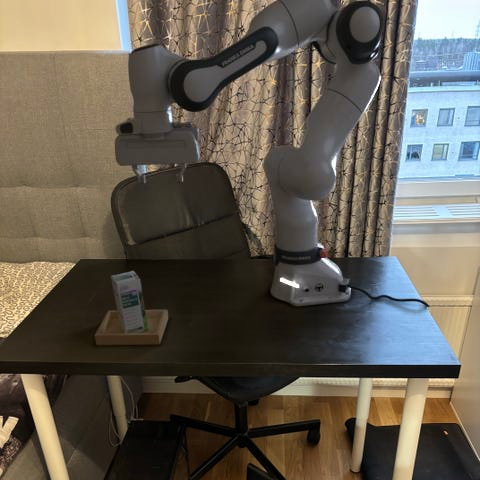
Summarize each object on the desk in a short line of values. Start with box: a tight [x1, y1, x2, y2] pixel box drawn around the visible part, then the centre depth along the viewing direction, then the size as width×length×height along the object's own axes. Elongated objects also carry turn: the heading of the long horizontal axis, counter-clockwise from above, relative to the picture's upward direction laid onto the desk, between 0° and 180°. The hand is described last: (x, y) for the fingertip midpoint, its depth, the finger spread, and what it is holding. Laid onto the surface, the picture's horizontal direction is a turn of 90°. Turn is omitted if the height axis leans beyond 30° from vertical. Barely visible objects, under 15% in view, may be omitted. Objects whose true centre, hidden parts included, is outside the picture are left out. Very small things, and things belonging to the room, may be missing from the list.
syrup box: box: [110, 270, 148, 334], centre depth 122 cm, size 6×6×14 cm
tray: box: [94, 309, 169, 346], centre depth 125 cm, size 16×13×3 cm
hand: (161, 182), depth 123 cm, fingers open, 8 cm apart
